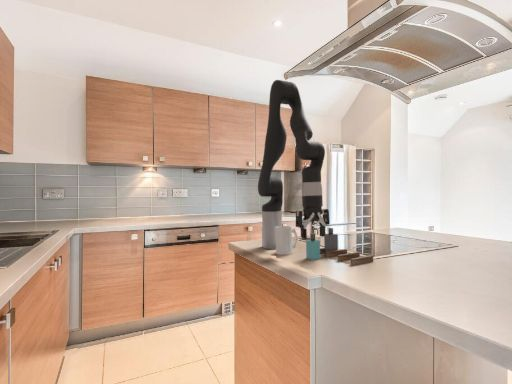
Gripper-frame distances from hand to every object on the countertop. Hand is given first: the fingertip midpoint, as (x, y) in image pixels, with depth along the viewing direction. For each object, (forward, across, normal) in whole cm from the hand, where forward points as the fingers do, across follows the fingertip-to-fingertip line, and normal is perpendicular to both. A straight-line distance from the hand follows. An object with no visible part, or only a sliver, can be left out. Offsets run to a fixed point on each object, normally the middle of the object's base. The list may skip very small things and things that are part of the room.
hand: (313, 237), depth 106 cm
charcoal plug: (+8, -10, -2) cm, 13 cm away
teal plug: (+9, 0, 0) cm, 9 cm away
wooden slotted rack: (+9, -10, +4) cm, 14 cm away
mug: (+9, +3, -14) cm, 17 cm away
